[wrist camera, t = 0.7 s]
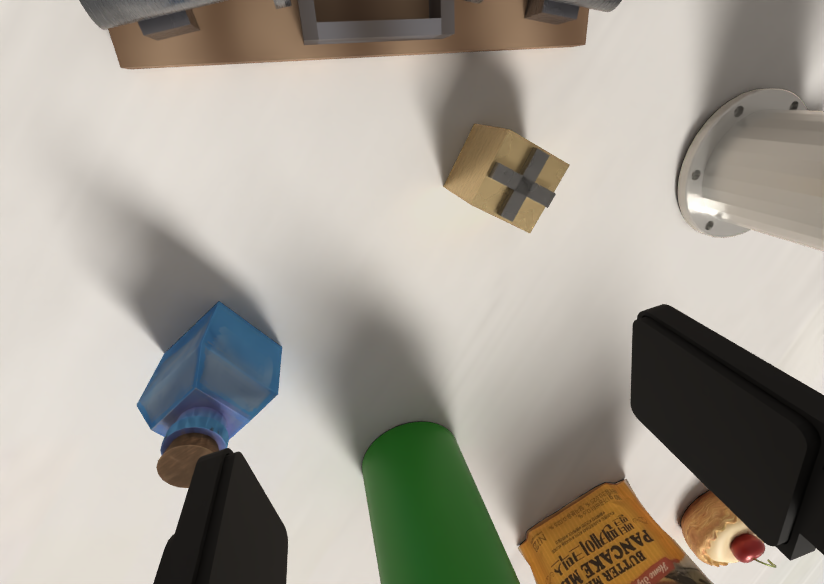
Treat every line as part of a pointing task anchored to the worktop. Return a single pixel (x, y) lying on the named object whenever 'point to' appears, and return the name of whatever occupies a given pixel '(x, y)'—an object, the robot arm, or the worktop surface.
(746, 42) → the worktop surface
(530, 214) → the coupling block
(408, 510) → the green bottle
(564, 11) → the right shaft
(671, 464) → the worktop surface
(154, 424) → the perfume bottle
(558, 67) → the worktop surface
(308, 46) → the stand
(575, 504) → the pancake mix bag
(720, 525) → the pastry
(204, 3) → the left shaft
